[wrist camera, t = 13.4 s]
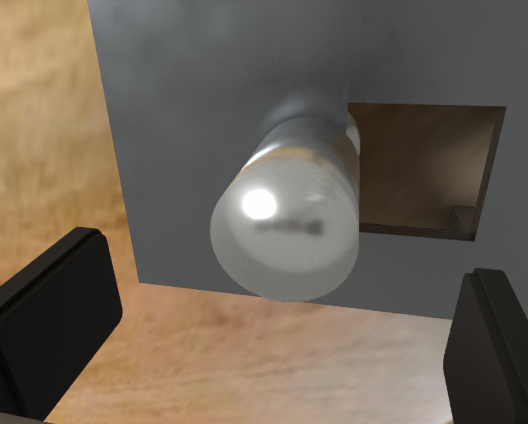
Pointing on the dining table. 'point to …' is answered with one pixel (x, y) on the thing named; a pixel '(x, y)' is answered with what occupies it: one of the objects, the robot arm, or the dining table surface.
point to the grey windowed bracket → (316, 106)
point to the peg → (293, 212)
